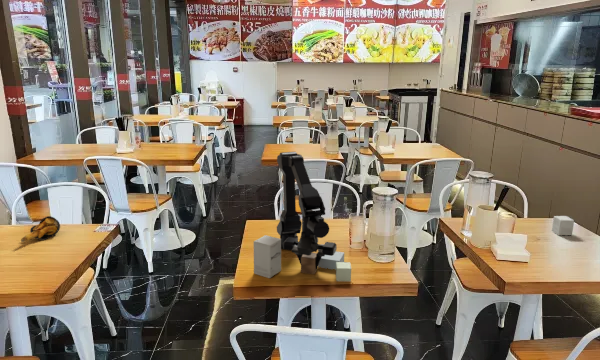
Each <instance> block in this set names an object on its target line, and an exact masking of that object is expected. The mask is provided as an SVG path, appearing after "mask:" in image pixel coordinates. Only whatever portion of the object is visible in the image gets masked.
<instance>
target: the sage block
mask: <svg viewBox="0 0 600 360" xmlns="http://www.w3.org/2000/svg"><path fill="white" fill-rule="evenodd" d="M335 280H336V282H352V264H351V262H350V261H349V262H346V261H344V262H336V270H335Z"/></svg>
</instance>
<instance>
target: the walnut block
mask: <svg viewBox="0 0 600 360" xmlns="http://www.w3.org/2000/svg"><path fill="white" fill-rule="evenodd" d="M317 253H318V252H312V253H311V255H309V256H308V255H302V257H301V264H300V273H303V274H309V275H315V274H316V272H317V270H318V269H319V267H318V268H317V269H316V258H317V257H316V254H317Z"/></svg>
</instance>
